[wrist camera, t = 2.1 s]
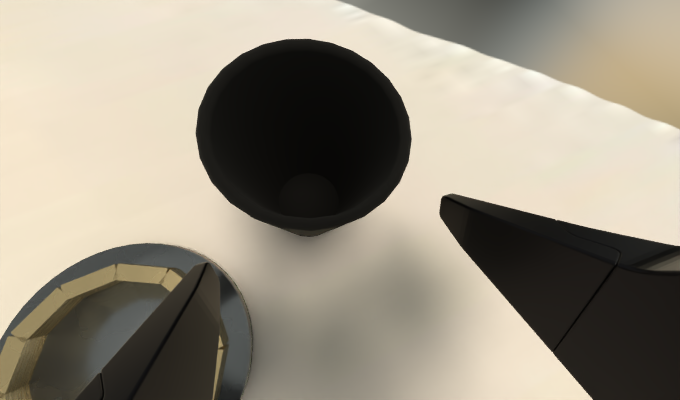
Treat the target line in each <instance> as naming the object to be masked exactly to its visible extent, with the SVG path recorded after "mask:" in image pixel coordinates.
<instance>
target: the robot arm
mask: <svg viewBox="0 0 680 400" xmlns="http://www.w3.org/2000/svg"><path fill="white" fill-rule="evenodd" d="M439 213H440V217H441V219H442V220H443V222H444V223H445V225H446V226H447V227H448V229H449V230H450V232H451V233H452V235H453V236H454V237H455V239H456V240H457V242H458V243H459V244H460V246H461V247H462V248H463V250H464V251H465V252H466V253H467V254H468V255H469V257H470V258H471V259H472V260H473V261H474V262H475V263H476V265H477V266H478V267H479V268H480V269H481V270H482V272H483V273H484V274H485V275H486V276H487V277H488V279H489V280H490V281H491V282H492V283H493V284H494V285H495V287H496V288H497V289H498V290H499V291H500V292H501V294H502V295H503V296H504V297H505V298H506V299H507V300H508V302H509V303H510V304H511V305H512V306H513V307H514V309H515V310H516V311H517V312H518V313H519V314H520V315H521V317H522V318H523V319H524V320H525V321H526V322H527V324H528V325H529V326H530V327H531V328H532V329H533V331H534V332H535V333H536V334H537V335H538V336H539V337H540V339H541V340H542V341H543V342H544V343H545V344H546V346H547V347H548V348H549V349H550V350H551V351H552V352H553V354H554V355H555V356H556V357H557V358H558V360H559V361H560V362H561V363H562V364H563V365H564V367H565V368H566V369H567V370H568V371H569V372H570V373H571V375H572V376H573V377H574V378H575V379H576V380H577V382H578V383H579V384H580V385H581V386H582V387H583V389H584V390H585V391H586V392H587V393H588V394H589V395H590V397H591V398H592V399H593V400H680V246H674V245H669V244H664V243H659V242H654V241H649V240H644V239H640V238H635V237H630V236H625V235H620V234H616V233H611V232H606V231H602V230H597V229H593V228H588V227H584V226H580V225H576V224H572V223H568V222H564V221H560V220H557V221H556V220H555V219H552V218H548V217H544V216H540V215H536V214H532V213H528V212H524V211H520V210H516V209H512V208H508V207H504V206H500V205H496V204H492V203H488V202H484V201H480V200H476V199H472V198H468V197H464V196H460V195H456V194H448V195H444V196H443V197H442V198H441V204H440V212H439ZM219 335H220V282H219V278H218V276H217V274H216V273H215V271H214V269H213V267H212V266H211V264H210V263H209V262H204V263H200V264H197V265H195V266H193V268H192V269H191V270H190V271H189V272H188V273H187V274H186V275H185V276H184V278H183V279H182V280H181V281H180V282H179V283H178V284H177V285H176V287H175V288H174V289H173V290H172V291H171V292H170V293H169V294H168V296H167V297H166V298H165V299H164V300H163V301H162V302H161V303H160V304H159V306H158V307H157V308H156V309H155V310H154V311H153V312H152V313H151V315H150V316H149V317H148V318H147V319H146V320H145V321H144V322H143V324H142V325H141V326H140V327H139V328H138V329H137V330H136V331H135V332H134V334H133V335H132V336H131V337H130V338H129V339H128V340H127V341H126V343H125V344H124V345H123V346H122V347H121V348H120V349H119V350H118V352H117V353H116V354H115V355H114V356H113V357H112V358H111V359H110V360H109V362H108V363H107V364H106V365H105V366H104V367H103V368H102V370H101V373H98V374H97V375H96V376H95V377H94V378H93V379H92V381H91V382H90V383H89V384H88V385H87V386H86V387H85V388H84V389H83V391H82V392H81V393H80V394H79V395H78V396H77V397H76V398H75V399H74V400H213V391H214V382H215V373H216V363H217V354H218V344H219Z"/></svg>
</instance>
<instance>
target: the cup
mask: <svg viewBox="0 0 680 400" xmlns="http://www.w3.org/2000/svg"><path fill="white" fill-rule="evenodd" d="M196 138H197V144H198V150H199V155H200V159H201V161H202V163H203V165H204V167H205V169H206V172H207V174H208V176H209V178H210V180H211V182H212V183H213V184H214V185H215V186H216V187H217V189H218V190H219V191H220V192H221V193H222V194H223V195H224V196H225V198H226V199H227V200H228V201H229V202H230V203H231V204H233V205H234V206H236V207H237V208H239V209H240V210H242V211H243V212H245V213H247V214H248V215H250V216H251V217H253V218H254V219H257V220H259V221H262V222H265V223H268V224H270V225H273V226H276V227H278V228H281V229H284V230H286V231H289V232H292V233H295V234H297V235H300V236H309V237H310V236H317V235H320V234H322V233H325V232H327V231H330V230H332V229H335V228H337V227H340V226H342V225H345V224H347V223H350V222H352V221H355V220H357V219H359V218H362V217H364V216H366V215H367V214H368V213H370V212H371V211H372V210H374V209H375V208H376V207H378V206H379V205H380V204H382V203H383V202H384V201H385V200H386V199H387V198H388V196H389V195H390V194H391V193H392V191H393V190H394V189H395V188H396V186H397V185H398V184H399V182H400V180H401V178H402V176H403V173H404V171H405V168H406V166H407V164H408V161H409V155H410V147H411V140H412V138H411V130H410V122H409V116H408V114H407V111H406V109H405V106H404V103H403V101H402V98H401V96H400V95H399V93H398V92H397V90H396V89H395V87H394V86H393V85H392V83H391V82H390V80H389V79H388V78H387V77H386V76H385V75H384V74H383V73H382V72H381V71H380V70H379V69H378V68H377V67H376V66H375V65H373V64H372V63H371V62H370V61H368V60H366V59H365V58H363V57H362V56H360V55H358V54H357V53H355V52H354V51H351V50H349V49H346V48H344V47H341V46H338V45H336V44H333V43H329V42H323V41H318V40H312V39H285V40H281V41H276V42H272V43H267V44H263V45H261V46H259V47H256V48H254V49H252V50H250V51H248V52H245V53H243V54H241V55H240V56H239V57H237V58H236V59H235V60H234V61H232V62H231V63H230V64H228V65H227V66H226V67H224V68H223V69H222V70H221V71H220V73H219V74H218V75H217V77H216V78H215V79H214V80H213V82H212V83H211V84H210V85H209V87H208V88H207V91H206V93H205V95H204V98H203V100H202V102H201V105H200V107H199V110H198V118H197V127H196Z"/></svg>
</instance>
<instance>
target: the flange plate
mask: <svg viewBox="0 0 680 400" xmlns="http://www.w3.org/2000/svg"><path fill="white" fill-rule="evenodd" d="M204 262H209V263H210V264H211V266H212V267H213V269H214V271H215V273H216V274H217V276H218V278H219V282H220V335H219V344H218V354H217V363H216V373H215V382H214V391H213V400H241V398H242V395H243V392H244V389H245V386H246V383H247V380H248V375H249V371H250V367H251V359H252V329H251V322H250V317H249V313H248V310H247V306H246V304H245V302H244V299H243V297H242V295H241V293H240V291H239V289H238V288H237V286H236V285H235V283H234V282H233V280H232V279H231V278H230V277H229V276H228V274H227V273H226V272H225V271H224V270H223V269H221V268H220V267H219V266H218V265H217V264H216V263H214V262H213V261H211V260H210V259H208V258H207V257H205V256H203V255H201V254H199V253H197V252H194V251H192V250H188V249H185V248H182V247H177V246H171V245H165V244H148V243H145V244H133V245H126V246H121V247H116V248H112V249H109V250H106V251H103V252H100V253H97V254H95V255H93V256H90V257H88V258H86V259H83V260H81V261H80V262H78V263H76V264H74V265H73V266H71V267H69V268H67V269H66V270H64V271H63V272H61V273H60V274H59V275H57V276H56V277H54V278H53V279H52V280H50V281H49V282H48V283H47V284H46V285H45V286H43V287H42V288H41V289H40V290H39V291H38V292H37V293H36V294H35V295H34V296H33V297H32V298H31V299H30V300H29V301H28V302H27V303H26V304H25V305H24V306H23V308H22V309H21V310H20V311H19V313H18V314H17V315H16V317H15V318H14V319H13V320H12V322H11V323H10V325H9V327H8V328H7V330H6V331H5V333H4V335H3V336H2V338H1V340H0V400H74V399H75V398H76V397H77V396H78V395H79V394H80V393H81V392H82V391H83V389H84V388H85V387H86V386H87V385H88V384H89V383H90V382H91V381H92V379H93V378H94V377H95V376H96V375H97V374H98V373H101V370H102V368H103V367H104V366H105V365H106V364H107V363H108V362H109V360H110V359H111V358H112V357H113V356H114V355H115V354H116V353H117V352H118V350H119V349H120V348H121V347H122V346H123V345H124V344H125V343H126V341H127V340H128V339H129V338H130V337H131V336H132V335H133V334H134V332H135V331H136V330H137V329H138V328H139V327H140V326H141V325H142V324H143V322H144V321H145V320H146V319H147V318H148V317H149V316H150V315H151V313H152V312H153V311H154V310H155V309H156V308H157V307H158V306H159V304H160V303H161V302H162V301H163V300H164V299H165V298H166V297H167V296H168V294H169V293H170V292H171V291H172V290H173V289H174V288H175V287H176V285H177V284H178V283H179V282H180V281H181V280H182V279H183V278H184V276H185V275H186V274H187V273H188V272H189V271H190V270H191V269H192V268H193V266H195V265H197V264H200V263H204Z"/></svg>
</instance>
